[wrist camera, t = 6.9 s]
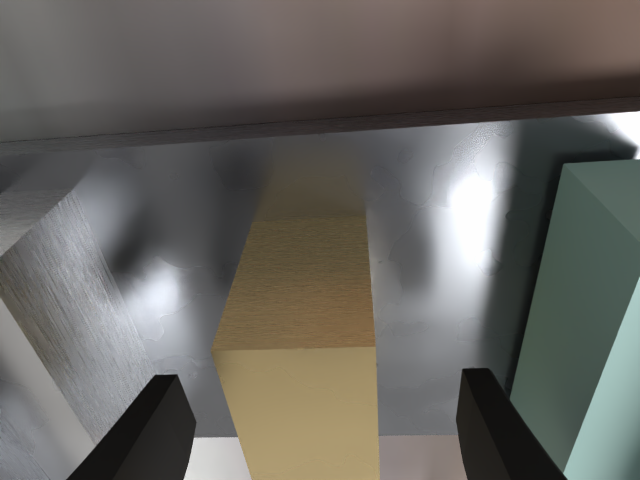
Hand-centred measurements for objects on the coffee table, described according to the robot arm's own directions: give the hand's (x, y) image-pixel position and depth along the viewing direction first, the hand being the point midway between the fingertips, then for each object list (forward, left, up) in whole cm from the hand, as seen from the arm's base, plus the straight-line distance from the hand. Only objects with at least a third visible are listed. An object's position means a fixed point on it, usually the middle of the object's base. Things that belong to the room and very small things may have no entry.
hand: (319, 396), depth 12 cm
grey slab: (0, 0, -4) cm, 4 cm away
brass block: (0, 0, -3) cm, 3 cm away
